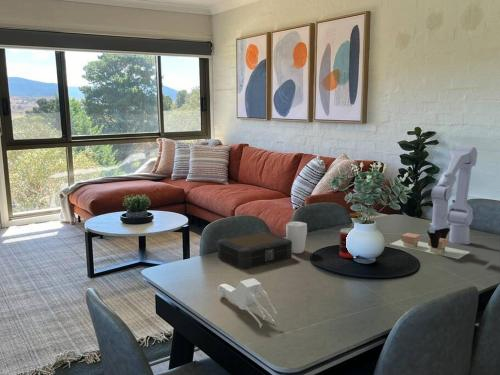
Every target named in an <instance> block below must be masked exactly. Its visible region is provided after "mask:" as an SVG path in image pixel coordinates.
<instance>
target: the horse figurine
mask: <svg viewBox="0 0 500 375" xmlns="http://www.w3.org/2000/svg"><path fill="white" fill-rule="evenodd" d="M216 290H217V293H218V296H219V298H220V299H224V298H226V296H228V298H229V299H230V300H232V301H233V302H234V303H235V305H236V306H237V307H238V308H239V309H240V310H242V311H243V310H246V311H247V312H248V313H249V314H250V315H251V316H252V317H253V318H254V319H255V321H256V322H257V323H258V326H259V329H261V328H262V327H263V324H262V323H261V321H260V320H259V318H258V317H257V316H256V315H255V314H254V312H252V311H251V309H250V308H252V307H257V308H258V310H259V311H260V313H261V316H262V320H265V318H266V316H267V317H268V318H269V319H270V321H271V324H272V325H273V324H275V320H274V319H273V317H272V315H271V314H269V313H268V311H267V310H266V309H265V308H264V307H263V306H262V305H261V304H260V302H259V300H260V298H261V295H262V296H263V297H265V298H266V300H267V301H268V303H269V305H270V308H271V309H272V310H273V313H274V314H273V315H274V317H276V316H277V314H278V312H277V311H276V308H275V307H274V305H273V303H272V301H271V299H270V298H269V295H268V293H267V292H266V291H265V290H264V288H263V287H262V283H261V282H259V281H258V280H257V279H256V278H254V277H253V278H248V279H244V280H240V281H239V283H238V285H237V286H236V287H233V286H232V285H229V284H227V283H221V284H219V285H218V287H217V289H216ZM260 294H261V295H260ZM265 314H266V315H265Z"/></svg>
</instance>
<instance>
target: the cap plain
mask: <svg viewBox="0 0 500 375" xmlns="http://www.w3.org/2000/svg"><path fill="white" fill-rule="evenodd" d="M427 243H428V246H431V241H430V238H428V241H427ZM448 244H449V238H446V239H444V238H440V239H439V244H438V247H437V248H444V247H448Z"/></svg>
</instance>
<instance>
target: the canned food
mask: <svg viewBox="0 0 500 375" xmlns="http://www.w3.org/2000/svg"><path fill="white" fill-rule="evenodd" d="M352 229H354V228H349V227H345V228H341V229H340V231H339V256H340V257H341V258H342V257H343V259H346V258H353V256H352V255H351V254H350V253H349V252H348V250H347V248H346V237H347V235H348V233H349V232H350V231H351V230H352Z"/></svg>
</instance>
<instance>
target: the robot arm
mask: <svg viewBox="0 0 500 375" xmlns="http://www.w3.org/2000/svg"><path fill="white" fill-rule="evenodd" d="M477 158H478V150H477V148H476V147H475V146H456V145H453V146H451V148H450V150H449V160H450V162H449V164H448V167H447V170H446V171H445V172H443V173H442V174H441V176H440V179H439V181H438V183H437V185H435V186H433V187H432V189H431V193H430V195H431V196H430V197H431V203H432V204H433V205H432V217H431V218H432V220H431V222H430V223H428V225H429V226H430V227H429V228H428V229H429V230H427V231H426V233H427V234H428V237H429V239H430V241H431V246H432V248H437V247H438V244H439V239H440V238H444V239H447V237H448V234H449V238H448V242H450V243H452V244H457V245H469V244H471V243H472V242H471V241H470V231H471V230H470V225H471V224H472V222H473V220H474V218H473V217H474V215H473V213H474V212H473V208H472V207H471V206H470V205H469V204H468V197H469V190H470V181H471V175H472V174H471V173H472V169H473V167H475V166H476V164H477ZM457 173H458V175H457V176H456V174H457ZM456 180H457V183H456V184H457V185H456V189H455V190H456V192H455V200H454V202H453V203H451V204H449V201H450V199H451V197H452V195H453V194H452V193H453V187H454V184H455V182H456Z"/></svg>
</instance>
